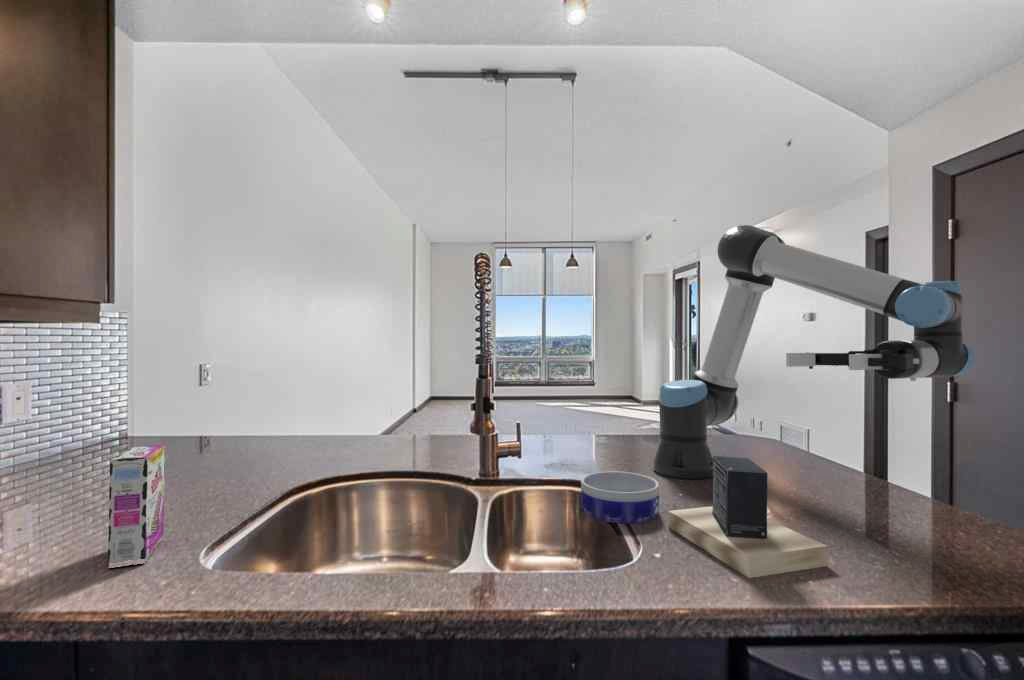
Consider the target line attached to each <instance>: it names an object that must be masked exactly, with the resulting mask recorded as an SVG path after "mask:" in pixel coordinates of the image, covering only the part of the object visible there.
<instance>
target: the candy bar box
mask: <svg viewBox="0 0 1024 680" xmlns="http://www.w3.org/2000/svg"><path fill="white" fill-rule="evenodd" d="M165 455H166V445H145V446H135V447H134V446H132V447H131V448H130V449H128V450H126V451H125V452H122V453H121V454H119V455H117V456H115V457H114V458H112V459H110V460H109V479H108V480H109V482H108V483H109V487H108V489H109V492H108V494H109V495H108V496H109V497H108V539H107V540H108V542H107V544H108V545H107V547H108V548H107V549H108V550H107V564H108V563H118V562H124V561H128V560H137V559H145V558H146V557H147V556H148V554H149V553H150V552H151V551H152V549H153V548H154V546H155V545H156V544H157V542H158V541H159V539H160V538H161V537H162V535H163V536H164V520H165V517H164V516H165V515H164V514H165V513H164V511H165V474H166V473H165V472H166V471H165V468H166V467H165V465H166V463H165V462H166V461H165V460H166V458H165Z"/></svg>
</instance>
